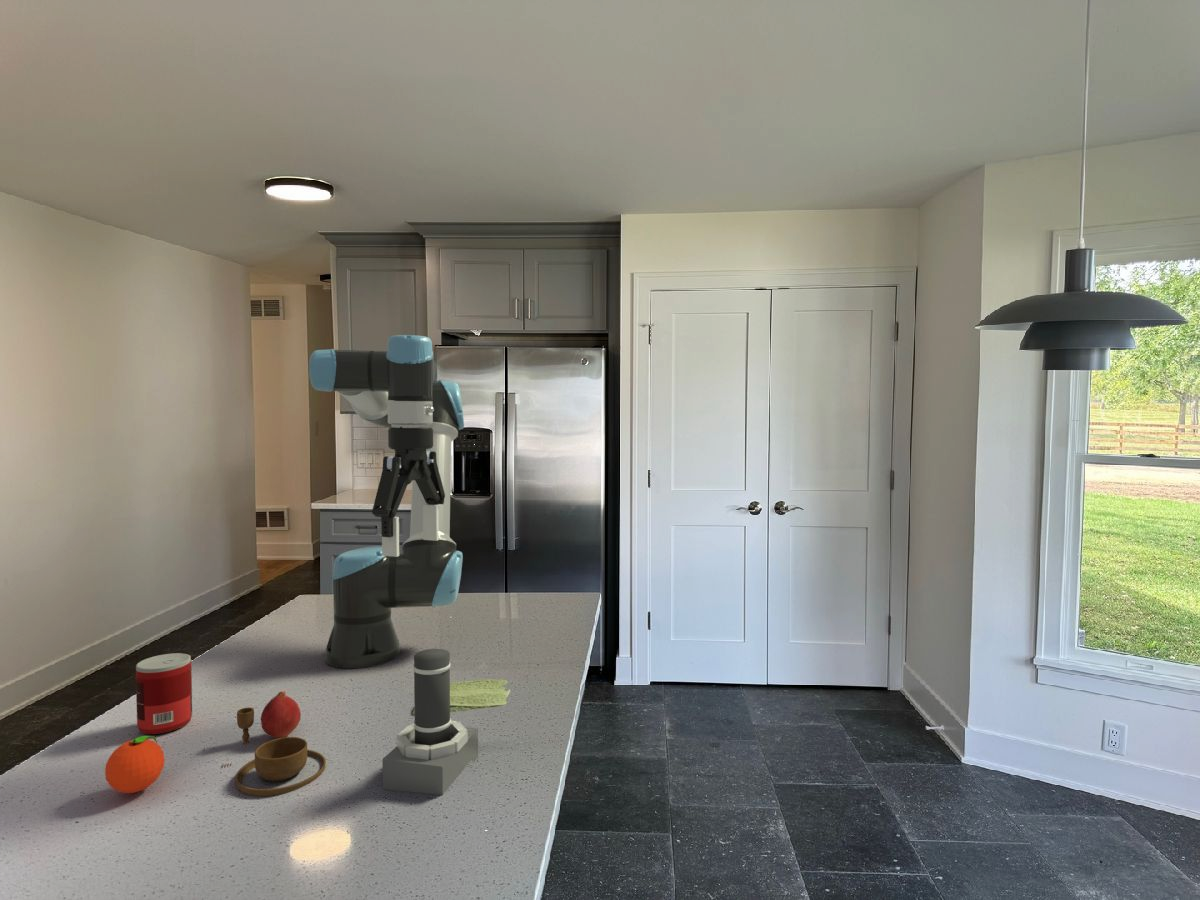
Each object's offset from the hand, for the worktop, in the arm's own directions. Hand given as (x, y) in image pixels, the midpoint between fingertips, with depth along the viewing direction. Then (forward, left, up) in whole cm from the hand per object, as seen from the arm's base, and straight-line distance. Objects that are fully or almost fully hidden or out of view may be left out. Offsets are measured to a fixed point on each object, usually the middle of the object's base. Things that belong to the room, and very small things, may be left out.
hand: (411, 547), depth 121 cm
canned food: (-38, -14, -30) cm, 51 cm away
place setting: (-10, -21, -30) cm, 38 cm away
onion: (-16, -14, -30) cm, 36 cm away
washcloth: (+7, +6, -30) cm, 31 cm away
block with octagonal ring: (+13, -19, -30) cm, 38 cm away
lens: (+13, -19, -25) cm, 34 cm away
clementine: (-25, -32, -30) cm, 50 cm away
